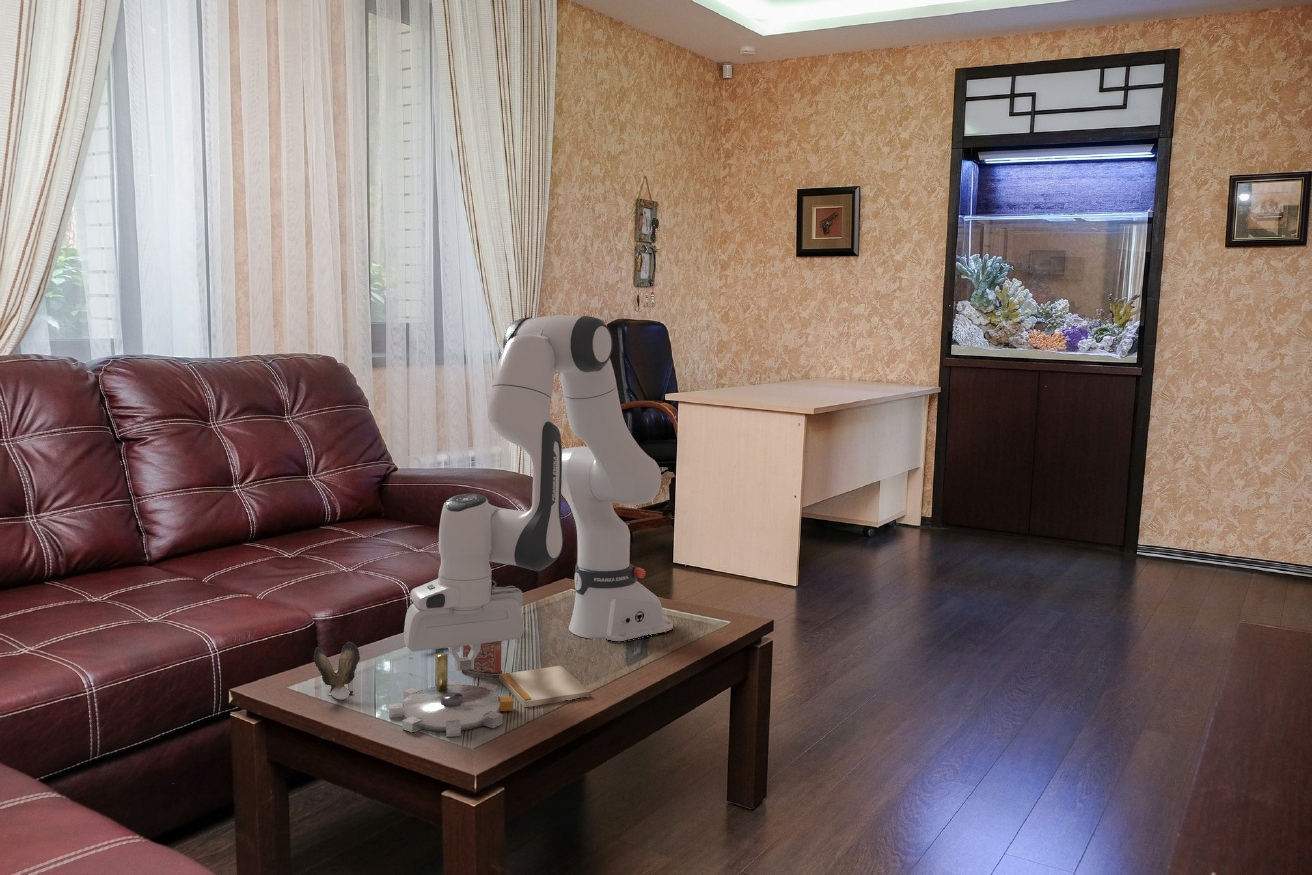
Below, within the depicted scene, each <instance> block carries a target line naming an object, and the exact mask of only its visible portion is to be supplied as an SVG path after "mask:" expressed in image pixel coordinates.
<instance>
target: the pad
mask: <svg viewBox="0 0 1312 875" xmlns="http://www.w3.org/2000/svg"><path fill="white" fill-rule="evenodd" d="M498 680H499V682H500V683H501V684H502V685H503V686H504V687H505V688H506V689H507V691H509V692H510V693H511V694H512V695H513V696H514V698H515V699H516V700H517V701H518V702H519V703H520V705H522V706H523V707H524V708H529V707H536V706H542V705H548V704H554V703H555V704H556V703H561V702H562V703H563V702H566V701H565V700H568V701H572V699H575V698H579V697H587V696H590V697H591V691H590V690H589V689H588V688H587V687H586V686H584V685H583V684H582V683H581V682H580V681H579V680H578V679H577V678H576V677H575V676H573V675H572V674H571V673H570V672H569V671H567V669H566V668H564V667H563V666H562V665H555V666H548V667H541V668H536V669H527V670H521V671H514V672H507V673H502V674H499V678H498ZM587 698H588V697H587ZM575 700H576V699H575Z"/></svg>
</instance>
